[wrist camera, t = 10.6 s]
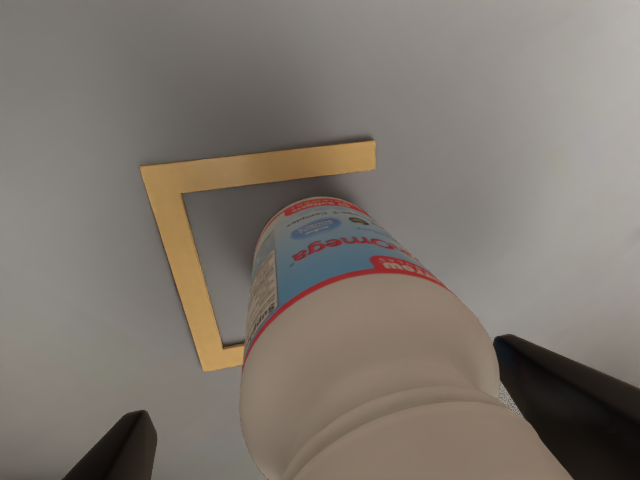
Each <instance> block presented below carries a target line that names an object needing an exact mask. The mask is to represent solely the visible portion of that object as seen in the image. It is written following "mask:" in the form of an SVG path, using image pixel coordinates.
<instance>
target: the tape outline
mask: <svg viewBox="0 0 640 480" xmlns="http://www.w3.org/2000/svg"><path fill="white" fill-rule="evenodd" d="M139 168H140V171H141V174H142V178H143V181H144V184H145V187H146V190H147V193H148V197H149V200H150V203H151V206H152V209H153V212H154V216H155V219H156V222H157V225H158V228H159V232H160V235H161V238H162V241H163V244H164V247H165V251H166V254H167V257H168V260H169V263H170V266H171V270H172V273H173V276H174V279H175V282H176V286H177V289H178V292H179V295H180V298H181V301H182V305H183V308H184V311H185V314H186V317H187V320H188V324H189V327H190V330H191V333H192V336H193V340H194V343H195V346H196V349H197V352H198V355H199V359H200V362H201V365H202V368H203V371H204V372H208V371H213V370H218V369H223V368H228V367H233V366H238V365H243V355H244V346H245V343H243V344H237V345H232V346H227V347H223V345H222V341H221V338H220V334H219V330H218V327H217V323H216V319H215V316H214V312H213V308H212V305H211V301H210V297H209V293H208V290H207V286H206V282H205V279H204V275H203V271H202V268H201V264H200V260H199V257H198V253H197V249H196V246H195V242H194V238H193V234H192V231H191V227H190V223H189V220H188V216H187V212H186V209H185V205H184V201H183V198H182V194H181V193H188V192H196V191H204V190H213V189H221V188H229V187H237V186H245V185H253V184H261V183H269V182H277V181H285V180H293V179H301V178H310V177H318V176H326V175H334V174H342V173H350V172H358V171H366V170H374V169H376V150H375V140H372V141H363V142H354V143H345V144H336V145H327V146H318V147H309V148H300V149H291V150H282V151H273V152H264V153H255V154H246V155H237V156H228V157H219V158H210V159H201V160H192V161H183V162H174V163H165V164H156V165H147V166H140V167H139Z"/></svg>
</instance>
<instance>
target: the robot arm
mask: <svg viewBox="0 0 640 480" xmlns="http://www.w3.org/2000/svg"><path fill="white" fill-rule="evenodd" d="M493 346H494V349H495V352H496V356H497V360H498V364H499V374H500V380H501V382H502V384H503V385H504V387H505V388H506V390H507V391H508V393H509V395H510V396H511V398H512V399H513V401H514V402H515V404H516V406H517V407H518V409H519V410H520V412H521V414H522V415H523V417H524V418H525V420H526V421H527V422H529V423H530V424H531V425H532V427H533V428H534V430H535V431H536V432H537V434H538V436H539V438H540V439H541V441H542V442H543V443H544V445H545V446H546V447H547V448H548V449H549V451H550V452H551V453H552V454H553V455H554V457H555V458H556V459H557V460H558V461H559V463H560V464H561V465H562V466H563V467H564V468H565V470H566V471H567V472H568V473H569V474H570V476H571V477H572V478H573V479H574V480H640V389H639V388H637V387H635V386H632V385H630V384H628V383H625V382H623V381H621V380H618V379H616V378H614V377H611V376H609V375H606V374H604V373H602V372H599V371H597V370H595V369H592V368H590V367H588V366H585V365H583V364H581V363H578V362H576V361H573V360H571V359H569V358H566V357H564V356H562V355H559V354H557V353H555V352H552V351H550V350H547V349H545V348H543V347H540V346H538V345H536V344H533V343H531V342H529V341H526V340H524V339H522V338H519V337H517V336H514V335H512V334H506V335H501V336H497V337H495V339H494V341H493ZM156 446H157V433H156V430H155V428H154V425H153V423H152V421H151V419H150V416H149V414H148V412H147V411H145V410H139V411H134V412H130V413H127V414H125V415H124V416H123V417H122V418H121V419H120V420H119V421H118V422H117V423H116V424H115V425H114V426H113V427H112V428H111V429H110V430H109V431H108V432H107V433H106V434H105V435H104V436H103V437H102V438H101V439H100V440H99V442H98V443H97V444H96V445H95V446H94V447H93V448H92V449H91V450H90V451H89V452H88V453H87V454H86V455H85V456H84V457H83V458H82V459H81V460H80V461H79V462H78V463H77V464H76V465H75V466H74V467H73V468H72V469H71V471H70V472H69V473H68V474H67V475H66V476H65V477H64V478H63V479H62V480H151V474H152V469H153V463H154V457H155V452H156Z"/></svg>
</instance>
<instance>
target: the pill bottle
mask: <svg viewBox="0 0 640 480" xmlns="http://www.w3.org/2000/svg"><path fill="white" fill-rule="evenodd" d="M499 389H500V374H499V364H498V360H497V356H496V352H495V349H494V346H493V344H492V342H491V339H490V337H489V335H488V334H487V332H486V330H485V329H484V327H483V325H482V324H481V322H480V321H479V319H478V318H477V317H476V316H475V315H474V314H473V312H472V311H471V310H470V309H469V308H468V307H467V306H466V305H465V304H464V303H463V302H462V301H461V300H460V299H459V298H458V297H457V296H456V295H454V294H453V293H452V292H451V291H450V290H449V289H448V288H447V287H446V286H445V285H444V284H443V283H442V282H440V281H439V280H438V279H437V278H436V277H435V276H434V275H433V274H432V273H431V272H430V271H429V270H427V269H426V268H425V267H424V266H423V265H422V264H421V263H420V262H419V261H418V260H417V259H415V258H414V257H413V256H412V255H411V254H410V253H409V252H408V251H407V250H406V249H405V248H404V247H403V246H402V245H400V244H399V243H398V242H397V241H396V240H395V239H394V238H393V237H392V236H391V235H390V234H389V233H388V232H386V231H385V230H384V229H383V228H382V227H381V226H380V225H379V224H378V223H377V222H376V221H375V220H373V219H372V218H371V217H370V216H369V215H368V214H367V213H366V212H364V211H363V210H362V209H361V208H359V207H358V206H356V205H354V204H352V203H350V202H348V201H345V200H342V199H339V198H334V197H311V198H306V199H303V200H299V201H297V202H294V203H292V204H290V205H288V206H286V207H285V208H283V209H282V210H280V211H279V212H278V213H277V214H275V215H274V216H273V217H272V219H271V220H270V221H269V222H268V223H267V225H266V226H265V228H264V229H263V231H262V233H261V235H260V237H259V240H258V242H257V245H256V249H255V254H254V259H253V269H252V277H251V288H250V297H249V307H248V318H247V326H246V336H245V346H244V355H243V365H242V377H241V386H240V421H241V427H242V433H243V437H244V440H245V443H246V445H247V448H248V450H249V453H250V454H251V456H252V458H253V460H254V462H255V463H256V465H257V467H258V468H259V469H260V470H261V472H262V473H263V474H264V475H265V476H266V477H267V478H268V480H574V479H573V478H572V477H571V476H570V474H569V473H568V472H567V471H566V470H565V468H564V467H563V466H562V465H561V464H560V463H559V461H558V460H557V459H556V458H555V457H554V455H553V454H552V453H551V452H550V451H549V449H548V448H547V447H546V446H545V445H544V443H543V442H542V441H541V439H540V438H539V436H538V434H537V432H536V431H535V430H534V428H533V427H532V425H531V424H530V423H529V422H527V421H526V420H525V419H524V418H523V417H521V416H519V415H518V414H516V413H514V412H512V411H511V410H510V409H509V408H508V407H507V406H506V405H505V404H504V403H502V402H501V401H499V400H498V398H499Z"/></svg>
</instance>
